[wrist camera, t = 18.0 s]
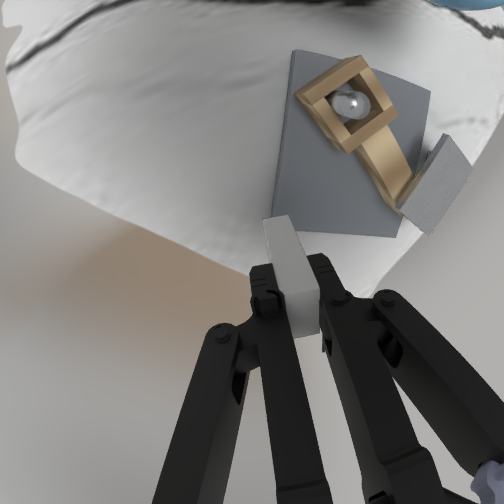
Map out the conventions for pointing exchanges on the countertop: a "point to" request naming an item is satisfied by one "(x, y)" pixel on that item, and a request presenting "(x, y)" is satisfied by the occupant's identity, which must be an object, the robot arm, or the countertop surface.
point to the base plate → (340, 159)
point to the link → (361, 126)
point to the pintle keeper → (430, 175)
